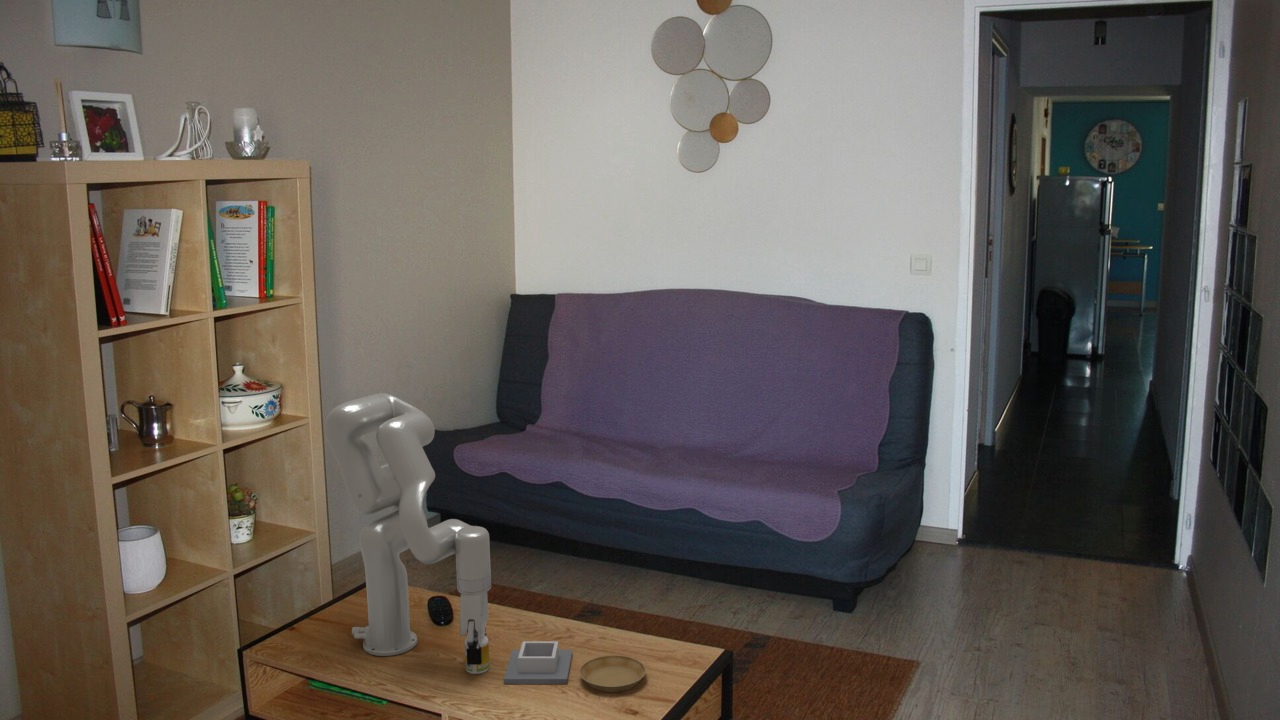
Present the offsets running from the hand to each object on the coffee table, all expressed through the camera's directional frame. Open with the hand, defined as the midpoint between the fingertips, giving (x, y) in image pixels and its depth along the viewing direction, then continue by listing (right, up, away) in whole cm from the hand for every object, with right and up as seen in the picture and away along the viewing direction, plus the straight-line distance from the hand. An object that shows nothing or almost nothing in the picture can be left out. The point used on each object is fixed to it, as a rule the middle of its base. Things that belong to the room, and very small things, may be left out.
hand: (477, 656), depth 233 cm
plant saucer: (+31, -4, -5) cm, 32 cm away
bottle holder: (+14, -3, 0) cm, 14 cm away
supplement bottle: (0, -3, +1) cm, 3 cm away
